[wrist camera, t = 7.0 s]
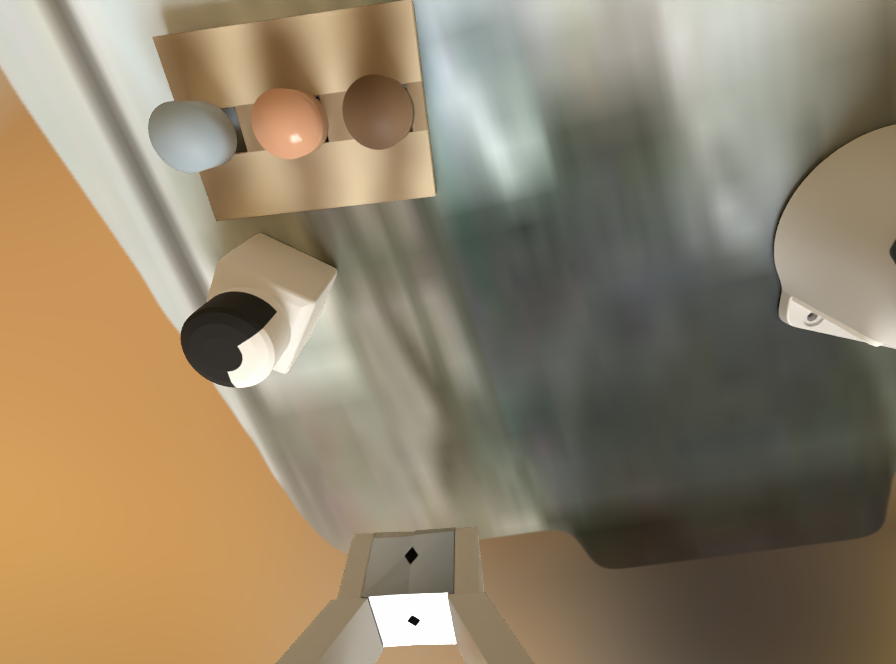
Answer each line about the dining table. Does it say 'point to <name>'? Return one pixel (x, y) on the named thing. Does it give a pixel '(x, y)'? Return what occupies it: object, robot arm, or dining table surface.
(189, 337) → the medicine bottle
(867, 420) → the dining table surface
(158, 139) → the slate-blue button
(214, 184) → the button board
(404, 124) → the brown rounded piece
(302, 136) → the peach rounded knob
